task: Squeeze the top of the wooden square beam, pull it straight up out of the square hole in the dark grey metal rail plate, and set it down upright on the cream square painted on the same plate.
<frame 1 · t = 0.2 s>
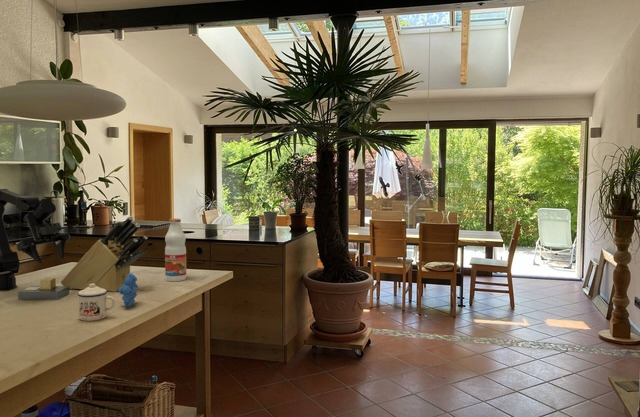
hand: (52, 260, 198), 15 cm above the table, tool tilted 30°, fingers open, 9 cm apart
rail plate: (44, 296, 202), on the table
grapes: (127, 306, 190), on the table
fruit juice: (176, 279, 235), on the table
knife block: (105, 288, 216), on the table
teacup with lid: (97, 317, 175), on the table
wooden square beam: (48, 296, 202), resting in rail plate
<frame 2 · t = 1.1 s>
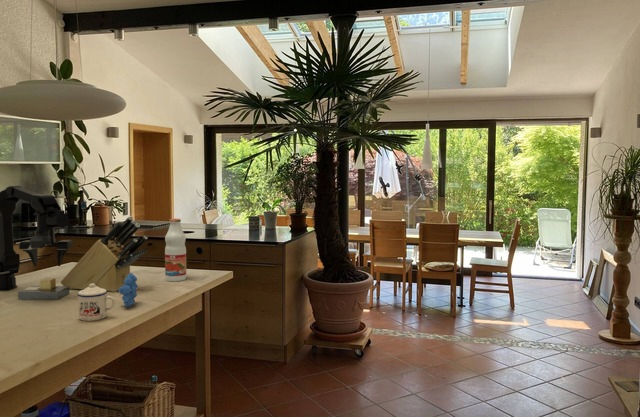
hand: (47, 266, 201), 12 cm above the table, tool pointing down, fingers open, 9 cm apart
nothing on the table moved.
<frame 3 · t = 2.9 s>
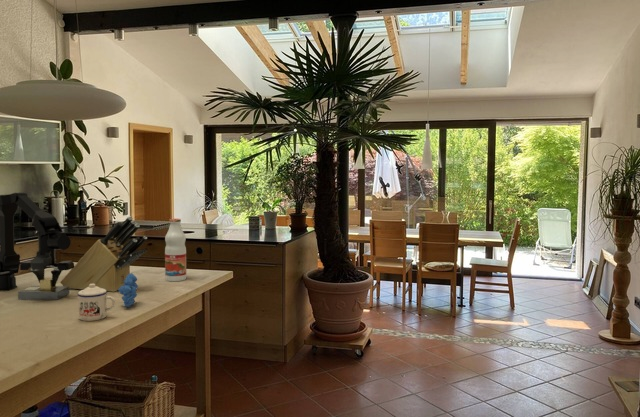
hand: (48, 286, 202), 4 cm above the table, tool pointing down, fingers closed on wooden square beam, 4 cm apart
wooden square beam: (48, 296, 202), resting in rail plate, touching gripper
everything else where it was.
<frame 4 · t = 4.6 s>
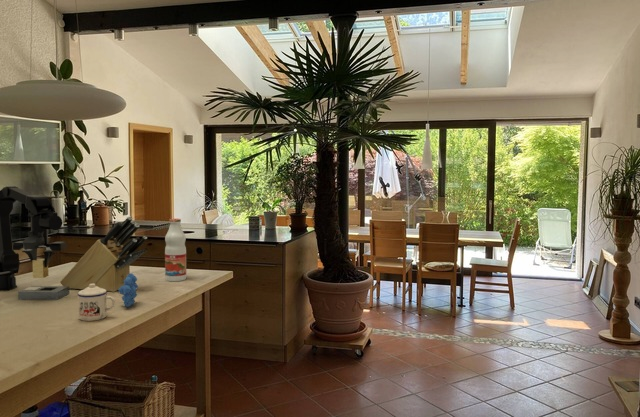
hand: (40, 267, 201), 12 cm above the table, tool pointing down, fingers closed on wooden square beam, 4 cm apart
wooden square beam: (40, 276, 201), point 8 cm above the table, touching gripper
everything else where it was.
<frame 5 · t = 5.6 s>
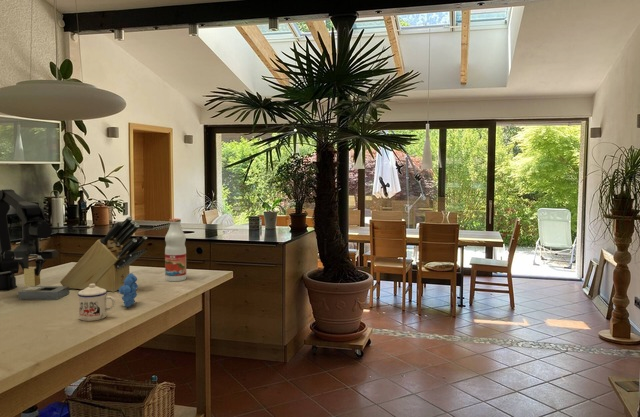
hand: (32, 275, 201), 8 cm above the table, tool pointing down, fingers closed on wooden square beam, 4 cm apart
wooden square beam: (32, 285, 202), point 4 cm above the table, touching gripper
everything else where it was.
when the fingers open (8 cm above the table, at t = 6.2 s): wooden square beam drops 1 cm, resting on rail plate.
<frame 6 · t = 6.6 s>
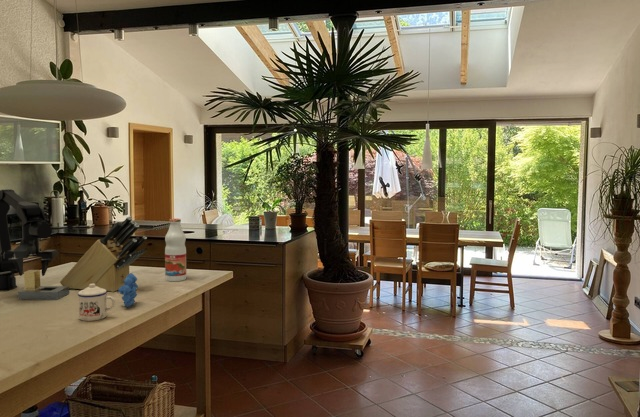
hand: (32, 275, 201), 8 cm above the table, tool pointing down, fingers open, 8 cm apart
wooden square beam: (32, 288, 202), point 3 cm above the table, touching rail plate
everything else where it was.
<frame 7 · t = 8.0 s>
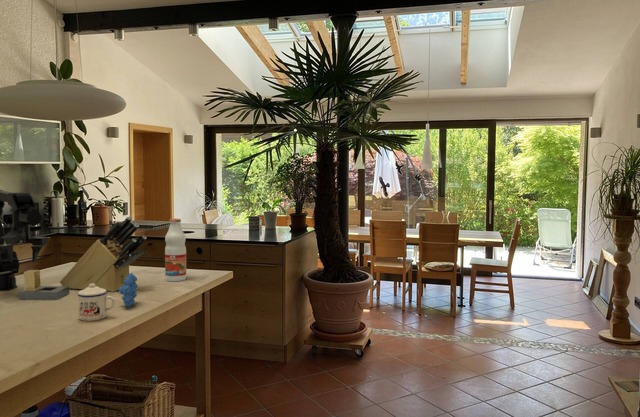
hand: (22, 262, 205), 13 cm above the table, tool pointing down, fingers open, 9 cm apart
nothing on the table moved.
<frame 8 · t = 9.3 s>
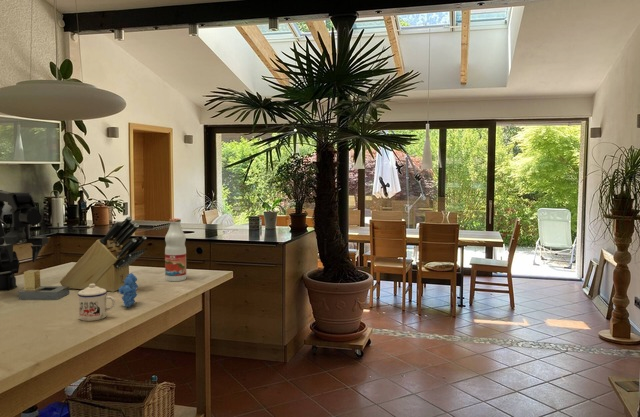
hand: (22, 262, 205), 13 cm above the table, tool pointing down, fingers open, 9 cm apart
nothing on the table moved.
at the end: wooden square beam 0.0 cm from the target spot on the rail plate, point 3.2 cm above the rail plate's base; wooden square beam tilted 0°; the gripper is holding nothing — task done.
